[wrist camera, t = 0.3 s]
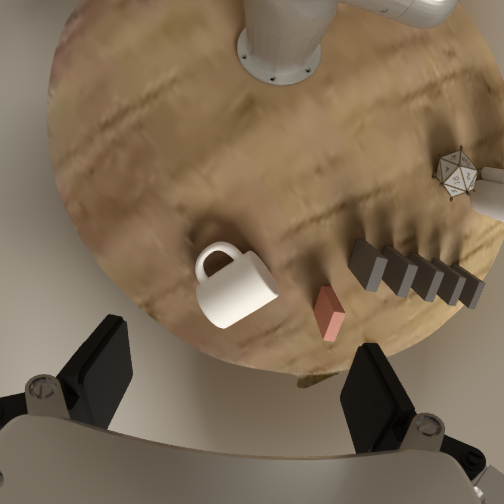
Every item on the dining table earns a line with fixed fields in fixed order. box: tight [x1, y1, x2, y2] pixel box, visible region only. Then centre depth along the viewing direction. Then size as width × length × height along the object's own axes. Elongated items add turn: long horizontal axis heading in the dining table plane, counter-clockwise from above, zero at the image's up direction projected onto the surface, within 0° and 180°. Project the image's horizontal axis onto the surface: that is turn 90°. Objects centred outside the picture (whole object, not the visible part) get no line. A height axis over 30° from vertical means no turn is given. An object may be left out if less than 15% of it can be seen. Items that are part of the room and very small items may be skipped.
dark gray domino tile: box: [381, 246, 418, 298], centre depth 43 cm, size 5×2×9 cm, turn 168°
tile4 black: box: [408, 252, 444, 302], centre depth 43 cm, size 5×2×9 cm, turn 168°
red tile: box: [313, 285, 345, 342], centre depth 45 cm, size 5×2×9 cm, turn 168°
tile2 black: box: [348, 239, 388, 292], centre depth 43 cm, size 5×2×9 cm, turn 168°
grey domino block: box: [451, 264, 485, 309], centre depth 44 cm, size 5×2×9 cm, turn 168°
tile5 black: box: [431, 258, 466, 306], centre depth 43 cm, size 5×2×9 cm, turn 168°
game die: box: [432, 145, 482, 202], centre depth 38 cm, size 9×8×10 cm
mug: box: [195, 242, 279, 328], centre depth 44 cm, size 12×10×8 cm
